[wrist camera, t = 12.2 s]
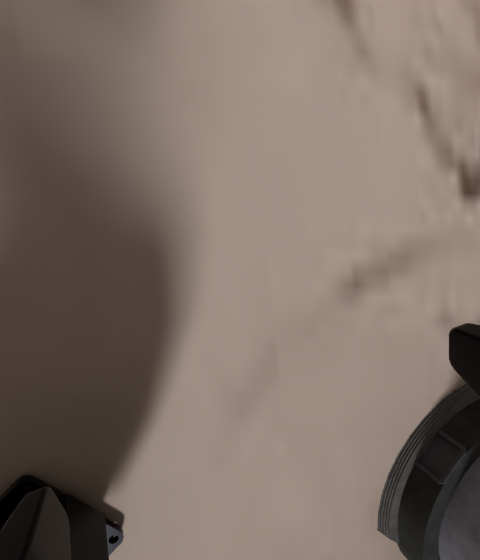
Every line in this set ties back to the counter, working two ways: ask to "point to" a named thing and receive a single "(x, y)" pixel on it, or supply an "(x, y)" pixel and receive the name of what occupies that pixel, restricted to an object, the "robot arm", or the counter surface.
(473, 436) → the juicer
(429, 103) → the counter surface
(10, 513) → the robot arm
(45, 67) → the counter surface
